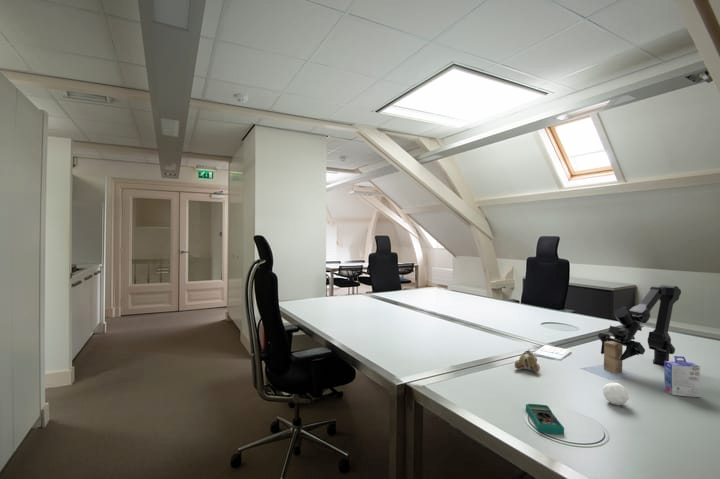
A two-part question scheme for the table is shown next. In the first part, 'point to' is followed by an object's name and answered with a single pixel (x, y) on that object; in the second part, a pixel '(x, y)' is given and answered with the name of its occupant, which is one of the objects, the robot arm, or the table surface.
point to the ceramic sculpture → (527, 361)
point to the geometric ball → (615, 393)
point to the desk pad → (607, 372)
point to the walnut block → (613, 356)
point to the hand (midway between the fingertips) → (611, 356)
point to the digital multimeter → (544, 419)
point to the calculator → (552, 352)
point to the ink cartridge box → (682, 377)
